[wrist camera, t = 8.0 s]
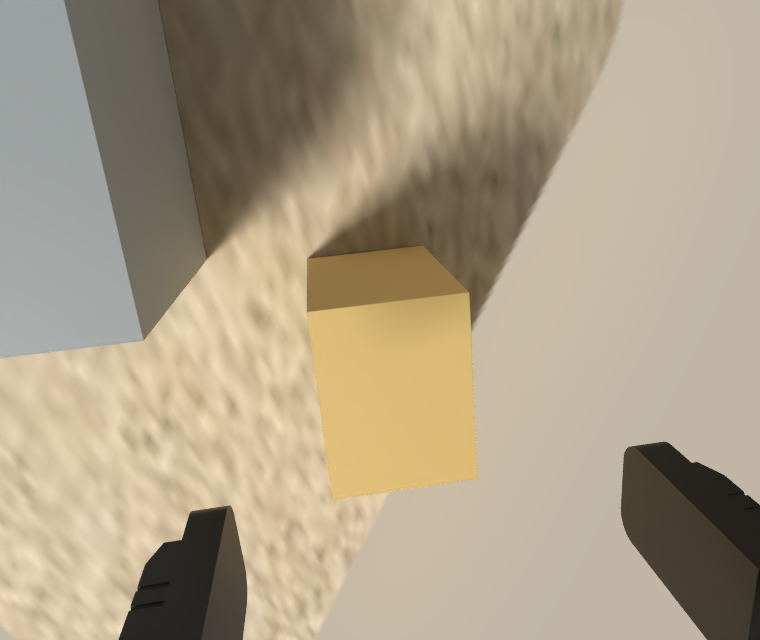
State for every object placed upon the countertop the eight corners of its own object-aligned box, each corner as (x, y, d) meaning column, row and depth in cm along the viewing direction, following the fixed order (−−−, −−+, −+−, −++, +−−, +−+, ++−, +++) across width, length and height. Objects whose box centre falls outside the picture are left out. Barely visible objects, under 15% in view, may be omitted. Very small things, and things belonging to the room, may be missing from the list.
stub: (307, 258, 23) (306, 312, 16) (422, 245, 23) (469, 292, 16) (326, 400, 24) (332, 499, 18) (432, 385, 25) (477, 478, 18)
